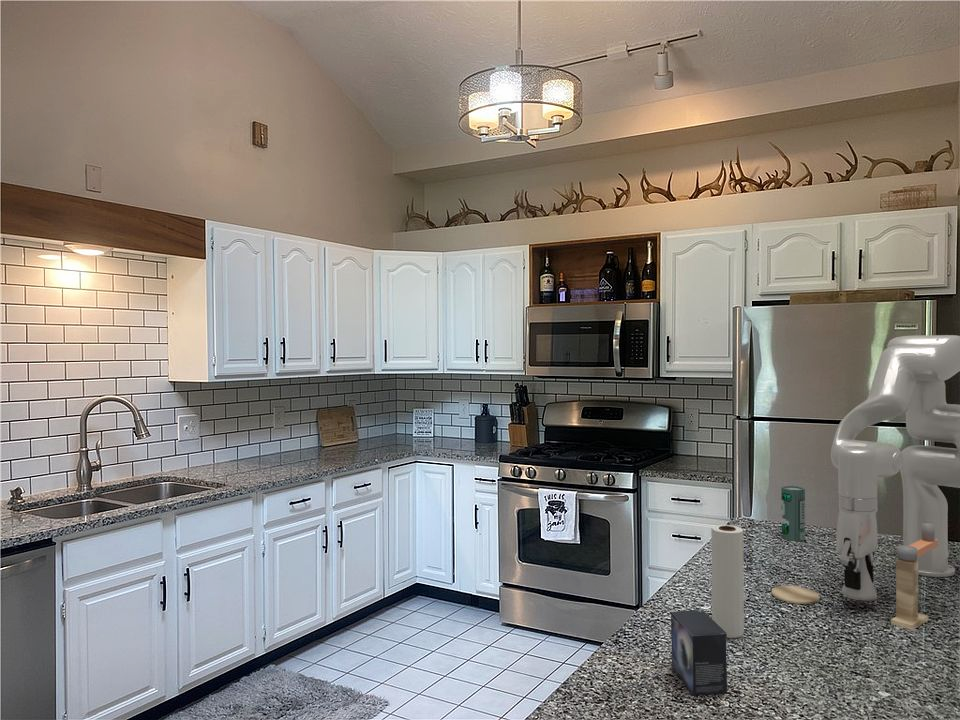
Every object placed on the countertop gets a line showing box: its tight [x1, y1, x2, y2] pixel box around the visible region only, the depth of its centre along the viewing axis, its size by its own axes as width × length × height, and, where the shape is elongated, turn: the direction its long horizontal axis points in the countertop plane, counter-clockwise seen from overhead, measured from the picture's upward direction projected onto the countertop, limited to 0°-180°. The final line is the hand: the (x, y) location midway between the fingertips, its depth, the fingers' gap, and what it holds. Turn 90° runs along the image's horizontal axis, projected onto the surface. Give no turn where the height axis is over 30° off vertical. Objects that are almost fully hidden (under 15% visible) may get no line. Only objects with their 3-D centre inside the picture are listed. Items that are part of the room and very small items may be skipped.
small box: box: [670, 609, 729, 696], centre depth 122 cm, size 11×6×10 cm, turn 5°
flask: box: [841, 553, 878, 601], centre depth 154 cm, size 7×7×10 cm
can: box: [780, 485, 806, 542], centre depth 208 cm, size 6×6×15 cm
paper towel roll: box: [710, 522, 745, 639], centre depth 141 cm, size 7×6×21 cm
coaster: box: [771, 585, 820, 605], centre depth 161 cm, size 10×10×1 cm
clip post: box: [890, 558, 929, 631], centre depth 145 cm, size 8×4×13 cm, turn 127°
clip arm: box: [896, 523, 938, 561], centre depth 149 cm, size 4×16×5 cm, turn 129°
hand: (859, 584), depth 154 cm, fingers closed on flask, 5 cm apart
